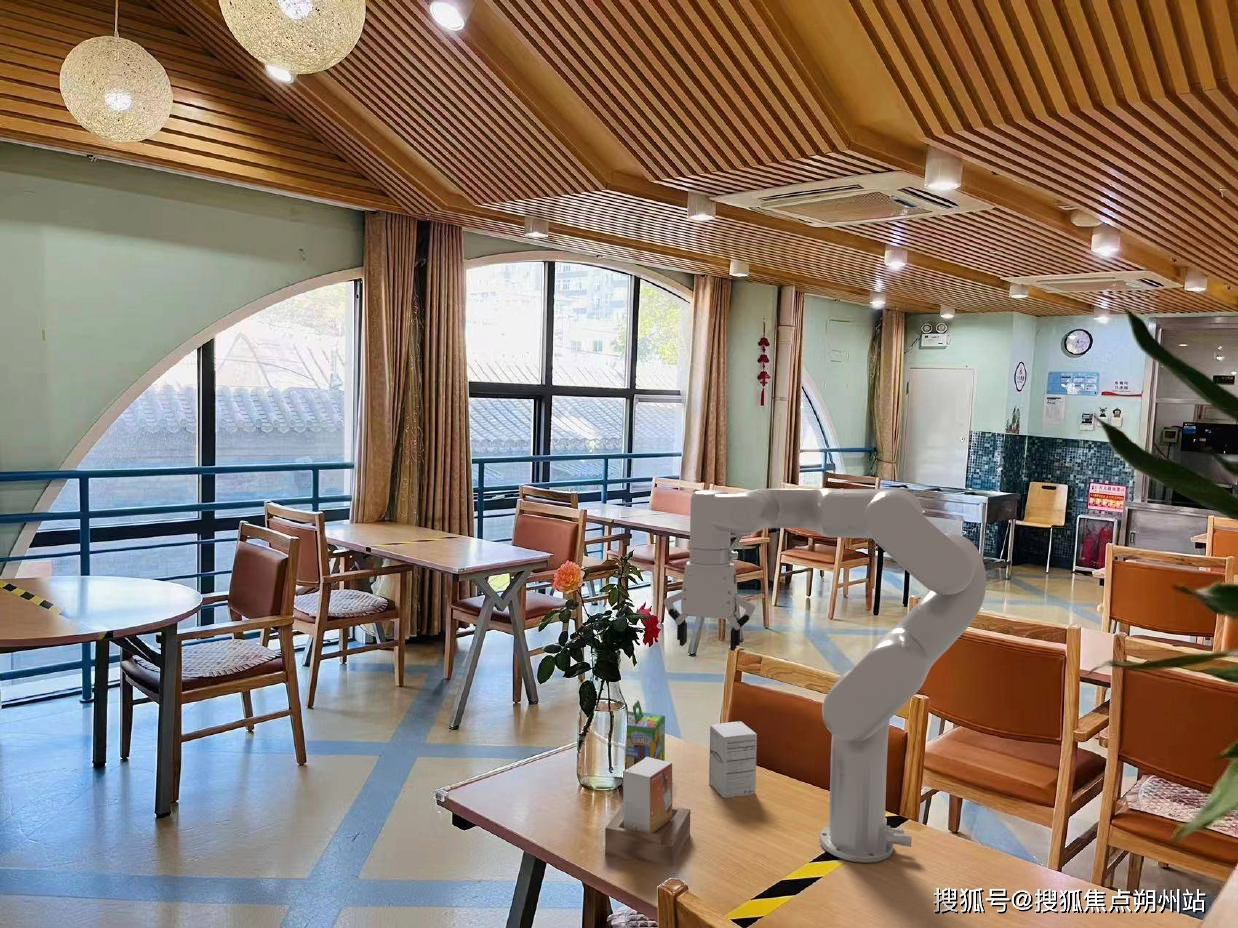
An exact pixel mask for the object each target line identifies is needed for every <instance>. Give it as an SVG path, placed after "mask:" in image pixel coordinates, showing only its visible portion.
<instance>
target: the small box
mask: <svg viewBox="0 0 1238 928" xmlns="http://www.w3.org/2000/svg"><path fill="white" fill-rule="evenodd" d="M622 779H623V782H622V784H623V785H622V786H623V792H622V793H623V794H622V795H623V805H622V806H623V807H624V828H625V829H631V830H636V831H642V832H648V833H654V832H655V831H657V830H658V829H660V828H661V827H662V826H664V825H665V824H666V823H668V822H670V821H671V820H672V806H673V763H672V762H670V761H667V760H665V761H662V760H658V759H654V758H650V757H646V758H644V759H643V760H641V761H640V762H638V763H637V764H635V765H633V766H632V767H630V768H628V769H626V770H624V771H623V778H622Z"/></svg>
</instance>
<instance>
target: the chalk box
mask: <svg viewBox="0 0 1238 928" xmlns="http://www.w3.org/2000/svg"><path fill="white" fill-rule="evenodd" d="M637 709H638V711H637ZM627 711H628V724H627V749H626V763H625V770H626V769H628V768H630V767H632V766H633V765H635V764H637V763H638V762H640V761H641V760H643V759H644V758H646V757H650V758H654V759H658V760H662V761H666V759H665V758H666V757H665V756H666V755H665V754H666V751H665V750H666V749H665V747H666V746H665V745H666V744H665V743H666V741H665V740H666V739H665V738H666V737H665V736H666V716H665V715H663V714H661V715H660V714H656V713H655V714H654V713H650V712H644V711H643V709H642V706H641V703H640V700H636V702H635V703H634V704H633V705H632V711H629V710H627Z"/></svg>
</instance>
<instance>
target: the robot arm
mask: <svg viewBox="0 0 1238 928" xmlns="http://www.w3.org/2000/svg"><path fill="white" fill-rule="evenodd" d="M690 497H691V498H690V507H689V508H690V509H689V510H690V515H689V517H690V519H689V521H690V522H689V523H690V524H689V527H690V528H689V560H688V561H687V562H686V564H685V567H684V572H683V580H682V586H681V587H682V588H681V591H679V592H678V593H675V594H672V595H670V596H668V597H666V598H665V599H664V600H663V604H664V607H665V610H666V611H667V612H668V613H667V614H668V615H669V617H670V618H671V619H672V620H673V621H674V622H675V624H676V625H677V627H676V638H677V639H676V640H677V641H679V647H683V646H685V645H686V644H687V642H688V622H687V621H686V619H687V618H688V616H689V617H697V618H705V619H706V618H709V619H720V620H721V619H723V620H724V619H725V620H727V621H728V622H729V624H730V625H731V627H732V628H731V629H730V640H729V641H730V644H729V645H730V646H729V650H730V651H733V652H734V651H735V650H736V649H737V646H738V647H739V646H740V644H741V628H742V627H743V626H744V625H745V624H746V623H748V621H749V620H750V619H751V617H752V615H753V613H754V611H755V610H756V609H757V608H756V605H755V604H753V603H752V602H750V601H748V600H747V599H745V598H744V597H741V596H740V595H738V583H737V573H736V566H735V563H733V562H731V561H733V560H738V559H739V552H737V551H734V550H733V549H732V547H731V533H733V534H737V535H742V536H743V535H753V534H755V533H758V532H761V531H763V530H764V529H801V530H807V531H811V532H814V533H816V534H818V535H819V536H822V537H827V538H842V539H843V538H845V539H846V538H850V539H852V538H853V539H855V538H856V539H858V538H859V539H872V540H873V541H874V542H875V543H876V544H877V545H878V546H879V547H880V548H881V549H882V550H883V551H884V552H885V553H886V554H887V555H888V556H889V557H891V559H892V560H894V561H895V562H896V563H898V565H900V566H901V568H903V569H904V570H905V571H907V573H908V574H910V575H911V576H912V577H913V578H914V579H915V580H916V581H918V583H920V584H921V585H922V586H923V587H925V588H926V589H928V590H927V592H926V593H925V595H923V596H922V598H920V600H919V601H918V602H917V603H916V604H914V606H913V607H912V609H911V610H909V612H908V613H907V614H906V615H905V616H903V618H902V619H901V620H900V621H899V622H898V623H897V624H895V625H894V626H893V627H892V628H891V629H890V630H889V631H888V632H886V633H884V634H883V635H881V637H879V638H878V640H877V641H876V642H875V644H874V645H873V646H872V648H871V649H870V651H868V652H867V653H866V655H865V656H864V657H863V658H862V659H861V660H860V661H859V662H858V663H857V664H856V665H855V666H854V667H853V668H851V669H849V670H847V671H845V672H844V673H842V674H841V675H840V676H839V677H838V679H837V680H836V681H835V682H834V684H833V685H832V687H831V689H830V690H829V691H828V692H827V694H826V696H825V697H824V700H823V702H822V707H821V708H822V709H821V712H822V713H821V715H822V720H823V722H824V725H825V726H826V729H827V730H828V731H829V732H830V734H831V745H830V747H831V748H830V752H831V753H830V771H829V772H830V778H829V779H830V780H829V809H828V811H829V812H828V813H829V814H828V825H827V826H825V827H823V829H821V830H820V833H819V843H820V845H821V847H822V848H823V849H824V850H825V851H826V852H828V853H829V854H831V855H832V856H834V857H837V858H839V859H842V860H845V861H849V862H855V863H863V864H865V863H866V864H867V863H877V862H881V861H884V860H886V859H888V858H890V857H891V855H892V854H893V852H894V845H898V846H900V847H901V846H902V847H907V848H912V837H913V836H912V835H911V834H905V829H904V828H894V827H891V825H887V822H888V821H887V820H888V819H887V817H886V800H887V799H886V798H887V797H886V795H887V793H886V792H887V768H888V767H887V766H888V765H887V764H888V747H889V746H888V744H889V743H888V742H889V731H890V729H889V727H890V719H892V718H893V717H894V716H895V715H896V714H897V713H898V712H899V711H900V710H901V709H902V708H903V707H904V706H905V705H906V704H908V702H910V700H911V699H912V698H914V697H915V695H916V694H917V693H918V692H919V690H920V689H921V688H922V687H923V685H924V683H925V681H926V679H927V676H928V674H929V672H930V670H931V668H932V667H933V665H934V664H935V663H936V662H937V661H938V660H939V659H940V657H942V656H943V655H944V654H945V653H946V652H947V651H948V650H949V649H950V648H951V647H952V646H953V645H954V643H955V642H956V641H957V640H958V639H959V638H960V637H961V636H962V635H963V634H964V633H965V632H966V631H967V629H968V628H969V627H970V626H971V624H972V623H973V622H974V620H975V619H976V617H977V616H978V614H979V612H980V610H981V608H982V605H983V602H984V600H985V595H986V591H987V571H986V568H985V563H984V561H983V558H982V556H981V553H980V550H978V548H977V546H976V545H975V544H974V543H973V542H972V541H971V540H970V539H969V538H967V537H965V536H963V535H959V534H956V533H955V534H949V533H948V534H945V533H943V532H942V531H941V529H939V528H938V527H937V526H935V524H933V523H932V522H931V521H930V520H929V519H927V517H925V516H924V514H923V506H922V504H921V502H920V500H919V498H918V497H917V496H916V495H915V494H913V493H912V492H910V491H909V490H904V489H899V488H898V489H897V488H861V489H860V488H814V489H811V488H756V489H751V490H748V491H745V492H740V493H736V494H734V493H733V494H730V493H728V492H726V491H725V490H724V491H723V490H718V489H703V490H696V491H694V492H693V493H692V494H691V496H690ZM680 600H681V601H680ZM678 601H680V609H681V613H680V612H679V611H678V610H677V608H675V606H674V603H676V602H678ZM738 606H739V607H741V608H743V609H745V613H744V614H743V615H742V616H741V617H739V616H738V615H737V611H738Z"/></svg>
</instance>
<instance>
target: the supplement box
mask: <svg viewBox="0 0 1238 928" xmlns="http://www.w3.org/2000/svg"><path fill="white" fill-rule="evenodd" d="M757 737H758V734H757V733H756V731H754V730H752V729H751V728H750V727H749V726H747V725H746V724H745V723H744V722H742V721H740V720H739V721H731V722H721V723H715V724H710V726H709V756H708V757H709V759H708V762H709V763H708V765H709V766H708V768H709V770H708V784H709V785H710V786H712V787H713V789H715V791H716V792H717V793H719V795H720V796H721V797H722V798H723V799H726V798H727V799H728V798H734V797H735V796H737V797H744V796H751V795H755V794H756V785H757V784H756V781H757V780H756V777H757V744H758V743H757V740H758V738H757ZM735 798H736V797H735Z"/></svg>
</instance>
